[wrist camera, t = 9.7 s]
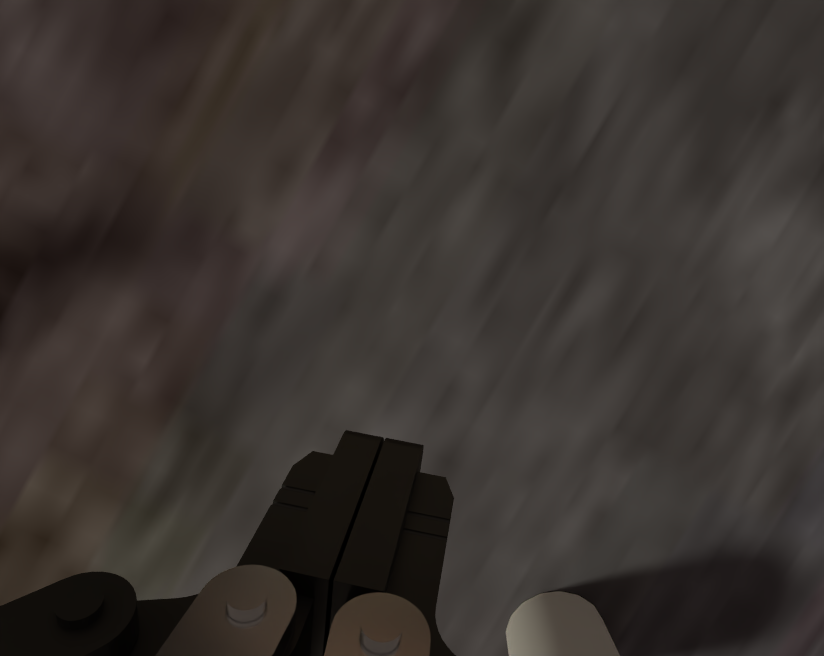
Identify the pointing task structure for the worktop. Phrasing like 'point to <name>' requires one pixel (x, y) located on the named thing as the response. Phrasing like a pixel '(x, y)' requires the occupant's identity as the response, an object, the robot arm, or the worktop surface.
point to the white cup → (558, 628)
